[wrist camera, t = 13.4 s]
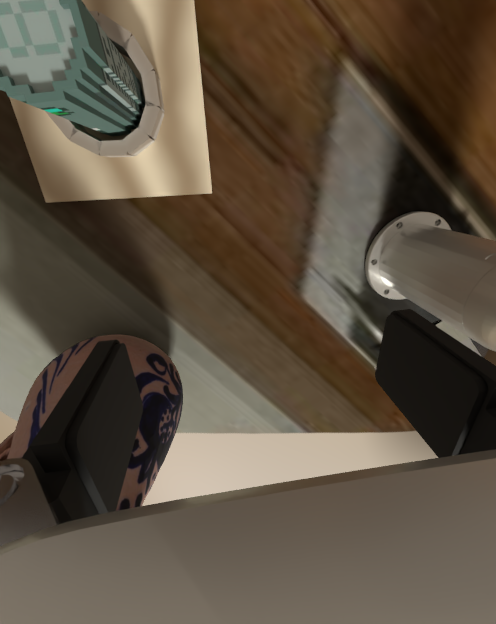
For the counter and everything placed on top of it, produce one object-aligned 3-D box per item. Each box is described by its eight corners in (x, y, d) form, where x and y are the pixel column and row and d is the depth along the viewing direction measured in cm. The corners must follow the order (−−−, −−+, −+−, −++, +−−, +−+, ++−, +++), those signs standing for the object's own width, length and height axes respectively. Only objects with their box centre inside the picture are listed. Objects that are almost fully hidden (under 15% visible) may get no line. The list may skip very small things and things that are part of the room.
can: (66, 61, 25) (-88, -62, 12) (133, 54, 26) (55, -73, 12) (91, 139, 28) (-12, 108, 15) (151, 131, 29) (103, 95, 15)
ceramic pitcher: (201, 391, 47) (195, 590, 24) (80, 426, 46) (-37, 657, 24) (160, 300, 38) (96, 473, 16) (13, 342, 38) (-252, 573, 16)
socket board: (191, -24, 25) (188, -62, 21) (211, 192, 33) (212, 195, 29) (-25, -28, 23) (-73, -70, 19) (52, 201, 32) (30, 205, 28)
